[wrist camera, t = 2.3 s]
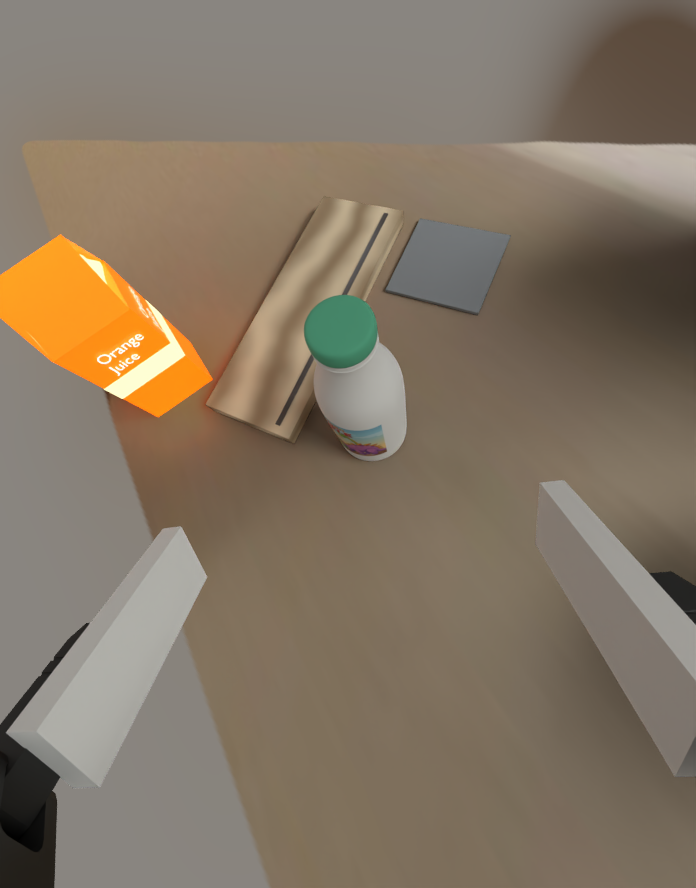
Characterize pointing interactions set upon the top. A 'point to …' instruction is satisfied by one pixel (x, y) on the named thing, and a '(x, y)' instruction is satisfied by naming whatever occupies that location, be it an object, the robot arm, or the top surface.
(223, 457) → the top surface
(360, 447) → the milk bottle
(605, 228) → the top surface
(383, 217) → the oak board
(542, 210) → the top surface
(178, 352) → the orange juice
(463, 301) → the plate
